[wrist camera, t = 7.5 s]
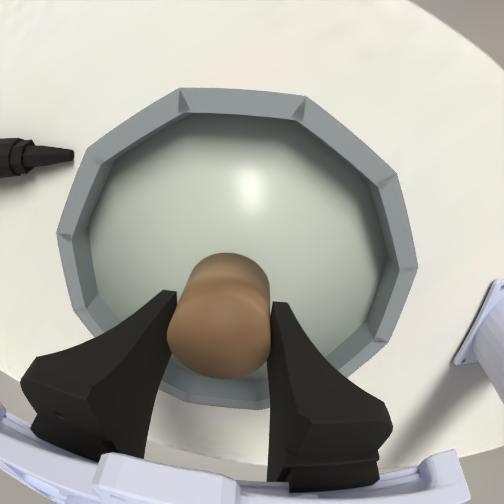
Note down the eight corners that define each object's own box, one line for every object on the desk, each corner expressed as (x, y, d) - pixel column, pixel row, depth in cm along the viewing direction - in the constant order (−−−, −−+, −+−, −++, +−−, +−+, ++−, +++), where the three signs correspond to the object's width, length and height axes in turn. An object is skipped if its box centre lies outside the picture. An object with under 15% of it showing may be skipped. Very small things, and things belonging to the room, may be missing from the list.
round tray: (424, 127, 12) (450, 132, 10) (347, 384, 20) (353, 410, 18) (76, 100, 12) (48, 101, 10) (109, 359, 20) (98, 382, 18)
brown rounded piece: (283, 270, 14) (288, 324, 10) (252, 330, 16) (248, 388, 12) (201, 240, 14) (179, 287, 10) (180, 306, 15) (158, 360, 12)
